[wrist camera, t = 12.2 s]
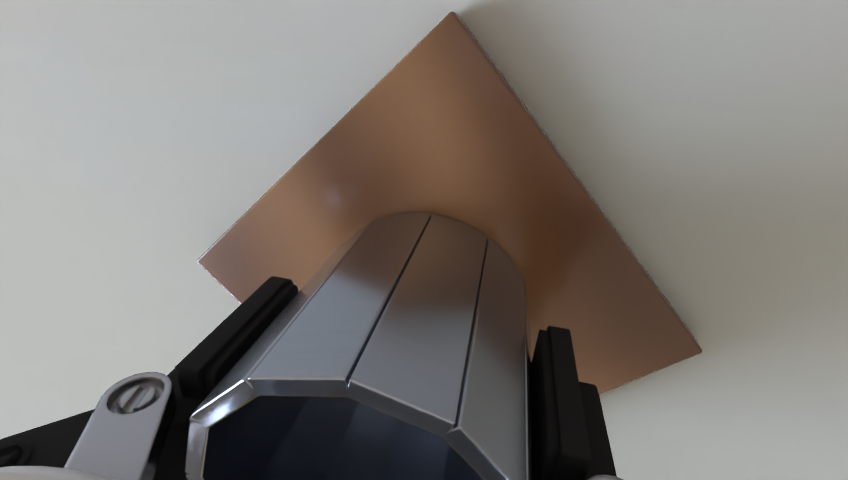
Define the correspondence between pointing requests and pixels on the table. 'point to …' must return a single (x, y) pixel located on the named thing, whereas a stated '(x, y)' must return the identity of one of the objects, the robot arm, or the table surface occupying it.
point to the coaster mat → (463, 207)
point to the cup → (383, 368)
